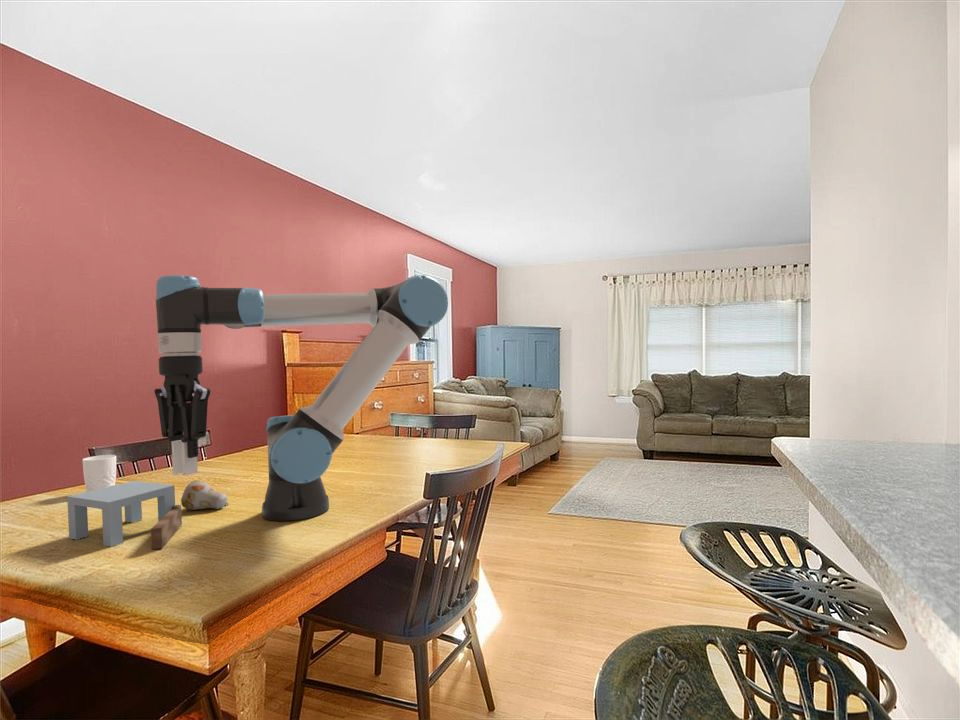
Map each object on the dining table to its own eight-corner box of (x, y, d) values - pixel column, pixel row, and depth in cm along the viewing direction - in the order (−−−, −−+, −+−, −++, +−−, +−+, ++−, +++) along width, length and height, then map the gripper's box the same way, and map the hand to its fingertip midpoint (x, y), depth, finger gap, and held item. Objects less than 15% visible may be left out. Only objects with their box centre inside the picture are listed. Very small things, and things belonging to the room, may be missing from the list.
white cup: (123, 490, 152) (121, 456, 152) (91, 497, 146) (89, 461, 146) (110, 487, 157) (108, 453, 156) (78, 494, 150) (77, 458, 150)
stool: (176, 525, 119) (174, 485, 119) (111, 547, 107) (109, 502, 106) (135, 518, 125) (133, 480, 125) (69, 538, 112) (67, 496, 112)
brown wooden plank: (173, 525, 119) (172, 505, 119) (182, 524, 119) (181, 504, 119) (151, 550, 104) (150, 526, 104) (162, 549, 105) (161, 525, 105)
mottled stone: (222, 513, 128) (197, 480, 126) (192, 529, 130) (167, 497, 129) (239, 497, 135) (215, 466, 134) (210, 512, 138) (187, 481, 136)
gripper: (136, 356, 105) (141, 475, 106) (189, 354, 99) (195, 480, 99) (172, 355, 112) (176, 467, 112) (224, 353, 106) (228, 471, 106)
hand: (185, 473), depth 106 cm, fingers open, 2 cm apart
